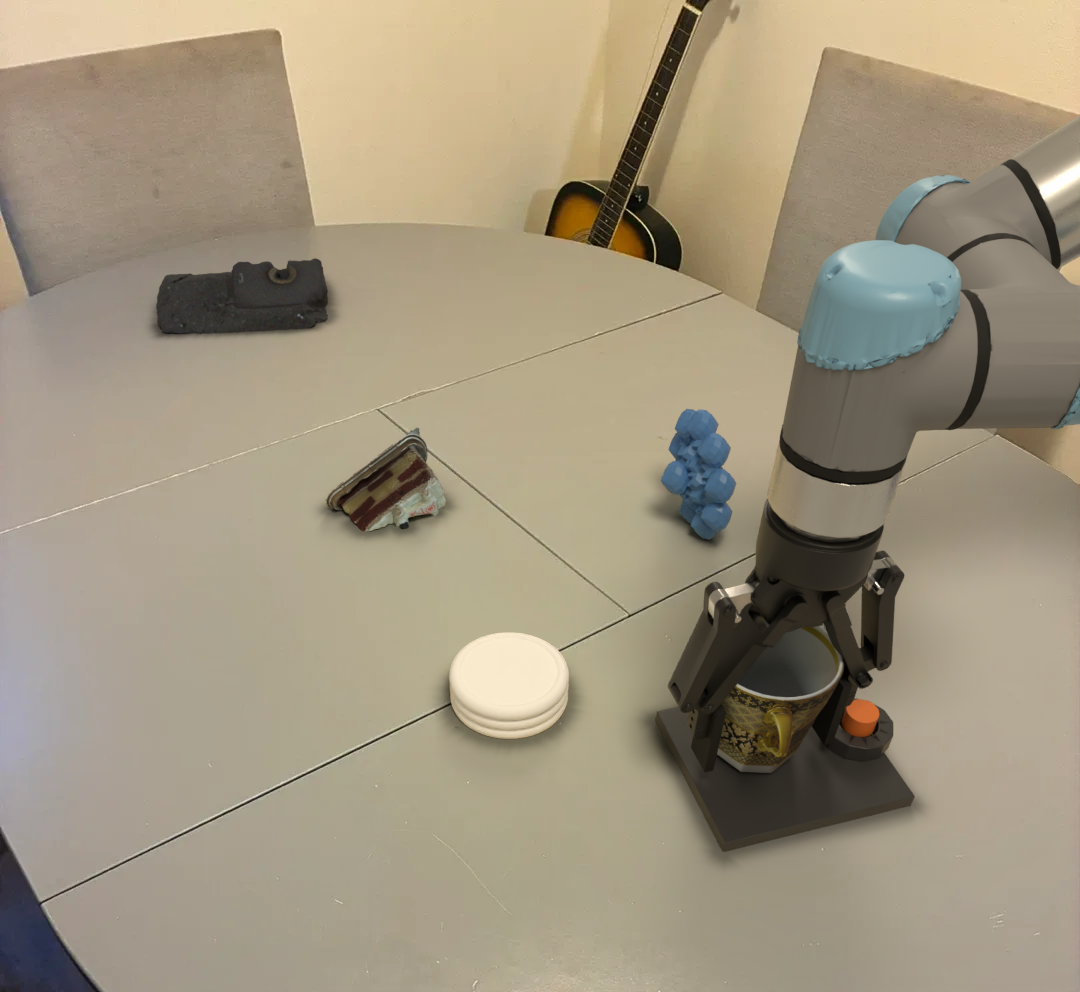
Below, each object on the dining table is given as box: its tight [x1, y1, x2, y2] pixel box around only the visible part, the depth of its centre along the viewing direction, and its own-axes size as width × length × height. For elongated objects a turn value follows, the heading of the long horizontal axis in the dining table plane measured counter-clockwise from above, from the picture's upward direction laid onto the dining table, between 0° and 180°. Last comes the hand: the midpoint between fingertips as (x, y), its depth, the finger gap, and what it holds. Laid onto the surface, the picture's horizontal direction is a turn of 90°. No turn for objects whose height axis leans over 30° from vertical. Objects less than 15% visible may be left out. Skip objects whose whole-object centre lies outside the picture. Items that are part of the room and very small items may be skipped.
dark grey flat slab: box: [655, 697, 916, 853], centre depth 83 cm, size 17×14×3 cm
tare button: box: [841, 698, 879, 737], centre depth 82 cm, size 3×3×2 cm
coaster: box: [448, 631, 570, 740], centre depth 87 cm, size 10×10×4 cm
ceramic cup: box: [717, 615, 844, 773], centre depth 78 cm, size 13×10×10 cm
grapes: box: [660, 408, 737, 540], centre depth 101 cm, size 12×7×12 cm, turn 18°
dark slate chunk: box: [155, 257, 329, 335], centre depth 134 cm, size 15×22×5 cm
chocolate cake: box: [325, 427, 447, 532], centre depth 105 cm, size 10×7×12 cm
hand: (762, 745), depth 81 cm, fingers closed on ceramic cup, 9 cm apart
